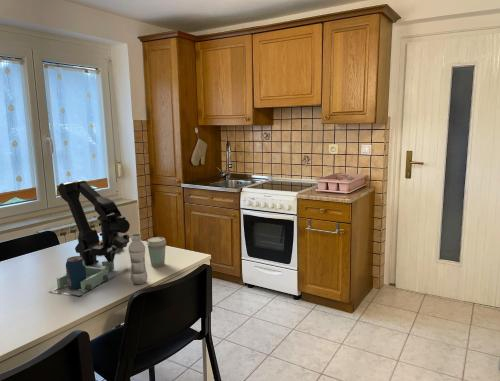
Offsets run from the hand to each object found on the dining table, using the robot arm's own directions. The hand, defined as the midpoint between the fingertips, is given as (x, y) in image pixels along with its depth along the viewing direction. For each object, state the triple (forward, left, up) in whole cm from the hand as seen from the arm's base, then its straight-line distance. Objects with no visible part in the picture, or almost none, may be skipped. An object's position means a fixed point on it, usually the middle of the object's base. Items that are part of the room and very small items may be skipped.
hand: (111, 264), depth 174 cm
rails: (0, -13, -2) cm, 13 cm away
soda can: (0, -20, -2) cm, 21 cm away
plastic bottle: (+21, -9, -2) cm, 23 cm away
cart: (0, -13, -2) cm, 13 cm away
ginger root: (-19, +23, -3) cm, 30 cm away
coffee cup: (+17, +11, -2) cm, 20 cm away
